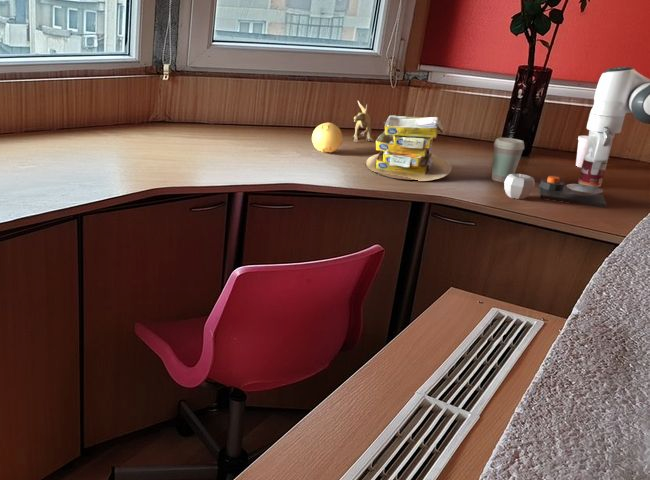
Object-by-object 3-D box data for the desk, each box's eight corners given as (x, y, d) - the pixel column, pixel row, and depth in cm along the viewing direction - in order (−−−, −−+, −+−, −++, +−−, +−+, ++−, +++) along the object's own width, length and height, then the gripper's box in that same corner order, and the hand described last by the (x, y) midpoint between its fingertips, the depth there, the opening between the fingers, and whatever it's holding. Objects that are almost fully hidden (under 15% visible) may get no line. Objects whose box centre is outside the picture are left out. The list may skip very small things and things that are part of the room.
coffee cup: (515, 185, 210) (524, 144, 205) (484, 180, 214) (492, 140, 209) (518, 179, 217) (527, 139, 212) (488, 174, 220) (496, 135, 216)
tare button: (557, 182, 204) (559, 176, 204) (558, 185, 202) (559, 179, 201) (546, 181, 205) (547, 175, 205) (546, 183, 203) (548, 177, 202)
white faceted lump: (504, 200, 194) (509, 176, 192) (497, 192, 202) (502, 169, 199) (535, 203, 193) (540, 179, 191) (527, 195, 200) (533, 172, 198)
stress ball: (308, 153, 237) (311, 123, 233) (312, 147, 246) (316, 118, 242) (338, 157, 234) (342, 126, 230) (342, 151, 243) (345, 121, 239)
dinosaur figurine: (349, 146, 250) (354, 107, 245) (352, 132, 274) (357, 96, 269) (371, 148, 249) (377, 109, 244) (373, 133, 272) (378, 98, 267)
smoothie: (588, 170, 231) (599, 126, 226) (567, 165, 236) (578, 123, 231) (595, 167, 236) (606, 124, 230) (575, 163, 240) (585, 121, 235)
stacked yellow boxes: (435, 186, 205) (445, 128, 198) (353, 171, 217) (360, 116, 211) (458, 170, 224) (469, 117, 217) (382, 157, 236) (389, 106, 230)
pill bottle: (574, 181, 217) (583, 145, 213) (596, 183, 216) (605, 147, 212) (581, 187, 211) (591, 150, 207) (604, 188, 210) (614, 151, 206)
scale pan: (600, 188, 198) (601, 186, 198) (604, 196, 191) (604, 194, 190) (564, 184, 201) (565, 182, 201) (566, 191, 194) (567, 189, 194)
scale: (600, 195, 203) (602, 185, 202) (605, 208, 191) (608, 197, 190) (538, 187, 209) (540, 177, 208) (539, 199, 197) (542, 188, 196)
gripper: (621, 132, 197) (608, 180, 202) (613, 120, 214) (601, 165, 219) (595, 129, 199) (583, 177, 204) (589, 117, 216) (578, 162, 222)
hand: (592, 171), depth 212 cm, fingers closed on pill bottle, 6 cm apart
